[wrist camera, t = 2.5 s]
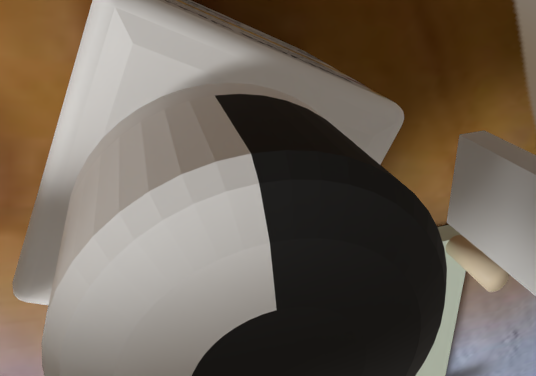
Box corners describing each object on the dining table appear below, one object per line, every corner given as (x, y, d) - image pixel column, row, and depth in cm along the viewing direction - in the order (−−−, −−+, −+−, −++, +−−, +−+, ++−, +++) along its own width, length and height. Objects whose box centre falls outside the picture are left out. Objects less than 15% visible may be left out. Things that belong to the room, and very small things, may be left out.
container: (309, 52, 18) (603, 218, 7) (234, 218, 21) (366, 532, 10) (108, -38, 15) (72, 9, 4) (48, 171, 18) (-77, 559, 6)
